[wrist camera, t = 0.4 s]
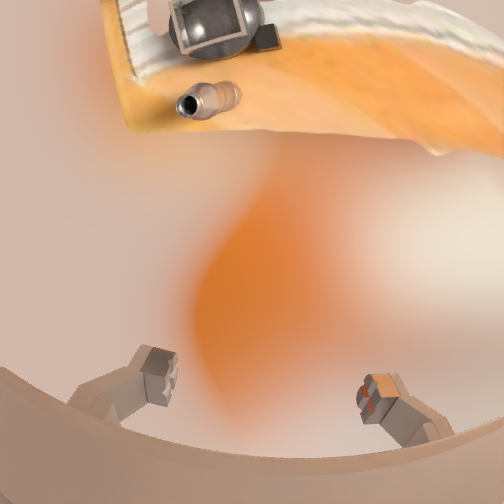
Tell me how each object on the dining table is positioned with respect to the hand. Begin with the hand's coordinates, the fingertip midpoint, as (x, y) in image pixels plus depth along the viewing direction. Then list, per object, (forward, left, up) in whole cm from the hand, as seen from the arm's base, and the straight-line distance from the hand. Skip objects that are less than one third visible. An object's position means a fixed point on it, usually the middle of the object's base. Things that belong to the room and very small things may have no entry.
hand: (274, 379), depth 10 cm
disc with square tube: (-27, -13, -51) cm, 59 cm away
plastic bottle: (-10, -15, -51) cm, 54 cm away
